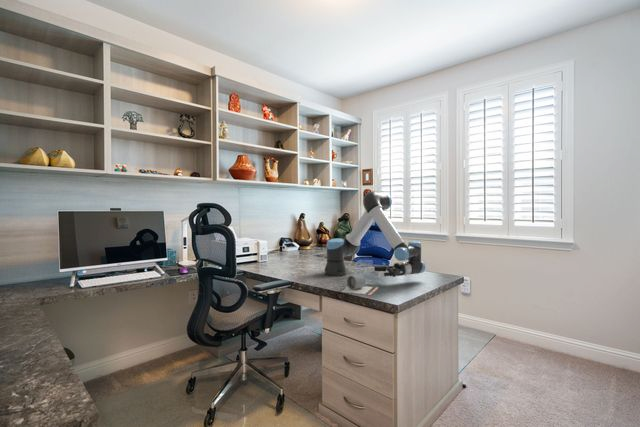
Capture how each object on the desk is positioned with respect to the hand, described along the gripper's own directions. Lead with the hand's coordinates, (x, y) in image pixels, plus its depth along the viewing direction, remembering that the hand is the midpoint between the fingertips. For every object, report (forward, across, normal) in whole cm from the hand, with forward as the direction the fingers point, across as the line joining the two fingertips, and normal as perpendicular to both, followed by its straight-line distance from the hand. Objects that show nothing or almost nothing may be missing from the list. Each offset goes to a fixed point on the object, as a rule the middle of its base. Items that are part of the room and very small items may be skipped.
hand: (371, 272), depth 184 cm
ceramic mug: (+10, +2, -8) cm, 13 cm away
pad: (+10, 0, -9) cm, 13 cm away
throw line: (+4, -7, -9) cm, 12 cm away
